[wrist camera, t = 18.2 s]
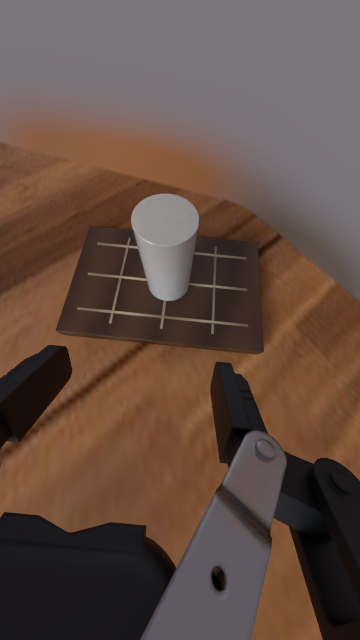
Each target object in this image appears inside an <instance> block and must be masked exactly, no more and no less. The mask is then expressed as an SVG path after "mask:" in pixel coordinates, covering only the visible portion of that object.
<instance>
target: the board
mask: <svg viewBox="0 0 360 640" xmlns="http://www.w3.org/2000/svg"><path fill="white" fill-rule="evenodd" d="M56 331H57V332H59V333H61V334H64V335H71V336H81V337H91V338H101V339H110V340H120V341H130V342H140V343H150V344H160V345H170V346H180V347H190V348H199V349H209V350H219V351H229V352H239V353H249V354H259V353H262V352H264V349H263V330H262V311H261V293H260V274H259V255H258V243H255V242H245V241H235V240H225V239H216V238H206V237H197V240H196V246H195V253H194V259H193V265H192V271H191V277H190V283H189V288H188V290H187V292H186V293H185V294H184V295H183V296H182V297H181V298H179V299H177V300H173V301H164V300H161V299H158V298H157V297H155V296H154V295H153V294H152V293H151V292H150V290H149V288H148V284H147V280H146V277H145V273H144V269H143V265H142V262H141V258H140V254H139V251H138V247H137V243H136V239H135V236H134V232H133V230H127V229H117V228H108V227H98V226H90V228H89V231H88V234H87V237H86V240H85V243H84V246H83V249H82V252H81V255H80V258H79V261H78V264H77V267H76V270H75V273H74V276H73V279H72V282H71V285H70V288H69V291H68V295H67V298H66V301H65V304H64V307H63V310H62V313H61V316H60V319H59V322H58V325H57V328H56Z"/></svg>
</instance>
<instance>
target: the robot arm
mask: <svg viewBox="0 0 360 640" xmlns="http://www.w3.org/2000/svg"><path fill="white" fill-rule="evenodd" d="M71 374H72V367H71V362H70V358H69V353H68V349H67V348H66V347H65V346H55V345H48V346H47V347H45V348H44V349H43V350H42V351H40V352H39V353H38V354H35V355H33V356H31V357H29V358H27V359H25V360H23V361H22V362H21V363H20V364H18V365H17V366H16V367H15V369H12V370H11V371H9V372H8V373H7V375H4V376H3V377H2V378H0V466H1V459H2V449H1V447H2V446H3V445H4V443H5V442H6V441H10V442H20V441H21V439H22V438H23V437H24V436H25V434H26V433H27V432H28V431H29V429H30V428H31V427H32V426H33V424H34V423H35V422H36V421H37V419H38V418H39V417H40V416H41V414H42V413H43V412H44V411H45V409H46V408H47V407H48V406H49V405H50V403H51V402H52V401H53V400H54V398H55V397H56V396H57V395H58V393H59V392H60V391H61V390H62V388H63V387H64V386H65V385H66V383H67V382H68V381H69V379H70V377H71ZM211 401H212V408H213V415H214V423H215V430H216V437H217V444H218V452H219V459H220V463H227V464H228V468H229V469H228V471H227V473H226V475H225V477H224V479H223V481H222V483H221V484H220V486H219V487H218V489H217V490H216V492H215V494H214V496H213V498H212V500H211V502H210V504H209V506H208V508H207V510H206V512H205V513H204V515H203V517H202V519H201V521H200V523H199V525H198V527H197V529H196V531H195V533H194V535H193V537H192V539H191V541H190V543H189V545H188V547H187V549H186V551H185V553H184V555H183V557H182V559H181V561H180V563H179V564H178V566H177V568H176V567H175V565H174V563H173V562H172V560H171V559H170V557H169V556H168V554H167V553H166V552H165V551H164V550H163V549H162V548H161V546H159V545H158V544H157V543H156V542H155V541H153V540H152V539H150V538H148V537H147V536H146V526H144V525H133V524H123V523H112V522H111V523H107V524H103V525H99V526H96V527H92V528H88V529H84V530H81V531H77V532H72V533H69V532H66V531H64V530H63V529H61V528H59V527H58V526H56V525H54V524H53V523H51V522H49V521H47V520H46V519H44V518H42V517H41V516H39V515H29V514H18V513H8V512H4V513H3V515H2V516H1V518H0V640H251V635H252V631H253V627H254V622H255V618H256V613H257V609H258V605H259V600H260V596H261V592H262V587H263V583H264V579H265V574H266V570H267V565H268V561H269V557H270V551H271V545H272V538H271V536H270V530H271V525H272V521H273V518H275V519H277V520H278V521H280V522H282V523H284V524H286V525H288V526H289V528H290V532H291V535H292V538H293V542H294V545H295V548H296V552H297V555H298V558H299V562H300V565H301V568H302V572H303V575H304V578H305V582H306V585H307V588H308V592H309V595H310V598H311V602H312V605H313V608H314V612H315V615H316V618H317V622H318V625H319V628H320V632H321V635H322V638H323V640H360V481H359V480H358V479H357V478H356V477H355V475H354V474H353V473H351V472H350V471H349V470H348V469H347V468H345V467H344V466H343V465H341V464H340V463H338V462H336V461H334V460H331V459H328V458H320V459H318V460H317V461H316V462H315V463H314V464H312V463H310V462H307V461H305V460H303V459H300V458H298V457H296V456H293V455H291V454H289V453H287V452H285V451H284V450H283V449H282V447H281V446H280V444H279V443H278V442H277V441H276V440H275V439H274V438H273V437H272V436H270V435H269V434H268V432H267V430H266V428H265V425H264V423H263V420H262V418H261V415H260V413H259V410H258V407H257V405H256V402H255V400H254V397H253V395H252V393H251V390H250V387H249V384H248V382H247V381H246V380H245V379H244V377H243V376H242V375H241V374H235V373H234V370H233V367H232V365H231V363H224V362H216V364H215V368H214V372H213V377H212V381H211Z"/></svg>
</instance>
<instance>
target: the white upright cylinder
mask: <svg viewBox="0 0 360 640" xmlns="http://www.w3.org/2000/svg"><path fill="white" fill-rule="evenodd" d="M131 224H132V228H133V232H134V236H135V239H136V243H137V247H138V251H139V254H140V258H141V262H142V265H143V269H144V273H145V277H146V280H147V284H148V288H149V290H150V292H151V293H152V294H153V295H154V296H155V297H157V298H158V299H161V300H164V301H173V300H177V299H179V298H181V297H182V296H183V295H184V294H185V293H186V292H187V290H188V288H189V283H190V277H191V271H192V265H193V259H194V253H195V246H196V240H197V234H198V228H199V215H198V212H197V210H196V208H195V207H194V205H193V204H192V203H190V202H189V201H188V200H186V199H185V198H183V197H180V196H178V195H174V194H156V195H152V196H149V197H147V198H145V199H144V200H142V201H141V202H139V203H138V204H137V206H136V207H135V208H134V210H133V213H132V216H131Z"/></svg>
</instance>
